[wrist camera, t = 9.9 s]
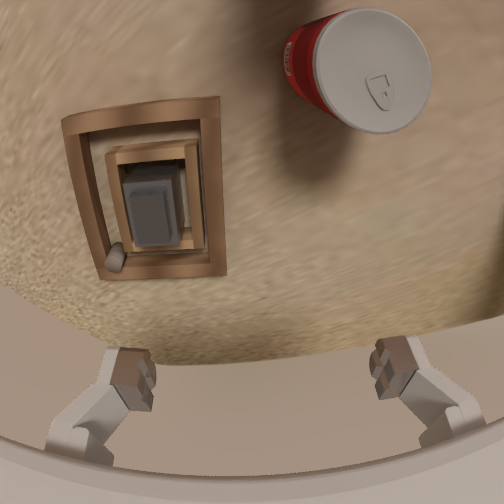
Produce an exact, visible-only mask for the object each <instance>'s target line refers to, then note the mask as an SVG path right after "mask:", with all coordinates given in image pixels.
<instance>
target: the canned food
mask: <svg viewBox="0 0 504 504" xmlns="http://www.w3.org/2000/svg"><path fill="white" fill-rule="evenodd" d="M283 69H284V72H285V75H286V78H287V80H288V82H289V84H290V85H291V87H292V88H293V89H294V90H295V92H296V93H297V94H298V95H300V96H301V97H302V98H303V99H305V100H307V101H308V102H310V103H312V104H313V105H315V106H317V107H319V108H320V109H322V110H323V111H325V112H327V113H328V114H330V115H332V116H333V117H335V118H336V119H338V120H340V121H341V122H343V123H345V124H347V125H348V126H350V127H352V128H354V129H357V130H359V131H363V132H365V133H371V134H389V133H393V132H397V131H399V130H401V129H403V128H405V127H407V126H408V125H409V124H411V123H412V122H413V121H414V120H415V119H416V118H417V117H418V116H419V114H420V113H421V112H422V110H423V108H424V106H425V105H426V102H427V99H428V97H429V94H430V88H431V67H430V62H429V57H428V55H427V52H426V49H425V47H424V45H423V43H422V42H421V40H420V38H419V37H418V35H417V34H416V33H415V32H414V31H413V29H412V28H411V27H410V26H409V25H408V24H406V23H405V22H404V21H403V20H402V19H400V18H398V17H397V16H395V15H393V14H391V13H389V12H386V11H383V10H380V9H373V8H357V9H350V10H347V11H342V12H339V13H336V14H333V15H330V16H327V17H324V18H321V19H318V20H315V21H313V22H310V23H307V24H305V25H303V26H301V27H300V28H298V29H297V30H295V31H294V32H293V34H292V35H291V36H290V37H289V39H288V41H287V42H286V44H285V48H284V51H283Z"/></svg>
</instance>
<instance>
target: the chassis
mask: <svg viewBox="0 0 504 504" xmlns="http://www.w3.org/2000/svg"><path fill="white" fill-rule="evenodd" d="M190 119H200V127H201V146H202V163H203V178H204V193H205V207H206V220H207V232H208V244H209V252H207V253H186V254H165V255H145V256H126V254H127V252H140V251H160V250H180V249H200V248H204V245H205V226H204V214H203V202H202V189H201V175H200V159H199V143H198V139H185V140H172V141H161V142H151V143H141V144H132V145H124V146H116V147H113V148H112V149H110V150H109V151H108V152H107V153H106V154H105V161H106V167H107V172H108V178H109V183H110V188H111V194H112V199H113V203H114V208H115V213H116V218H117V222H118V226H119V231H120V235H121V239H122V243H121V242H116V243H114V244H113V245H112V247H111V243H110V240H109V236H108V232H107V228H106V224H105V220H104V215H103V211H102V207H101V202H100V198H99V193H98V188H97V183H96V178H95V173H94V168H93V163H92V157H91V151H90V145H89V139H88V132H91V131H96V130H103V129H109V128H116V127H123V126H130V125H138V124H147V123H156V122H166V121H177V120H190ZM61 124H62V131H63V137H64V143H65V148H66V154H67V159H68V164H69V169H70V173H71V178H72V182H73V187H74V191H75V195H76V200H77V204H78V208H79V211H80V215H81V219H82V223H83V226H84V230H85V233H86V237H87V240H88V244H89V247H90V250H91V254H92V257H93V260H94V263H95V266H96V269H97V272H98V275H99V278H100V280H124V279H153V278H179V277H202V276H223V275H227V265H226V247H225V227H224V206H223V183H222V157H221V128H220V96H210V97H194V98H181V99H170V100H161V101H152V102H143V103H136V104H129V105H122V106H115V107H109V108H103V109H98V110H92V111H87V112H82V113H77V114H72V115H69V116H67V117H65V118H63V119H61ZM182 158H185V165H186V177H187V188H188V199H189V209H190V218H191V227H183V229H182V234H181V239H180V245H166V246H148V247H135V243H134V238H133V234H132V229H131V224H130V219H129V215H128V210H127V205H126V199H125V194H124V189H123V183H124V182H125V180H126V179H127V177H128V175H127V169H126V164H127V163H136V162H146V161H157V160H169V159H182Z"/></svg>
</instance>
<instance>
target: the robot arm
mask: <svg viewBox="0 0 504 504" xmlns="http://www.w3.org/2000/svg"><path fill="white" fill-rule="evenodd" d="M375 346H376V350H374V351H373V352H372V353H371V356H370V362H369V367H370V372H371V375H372V377H374V378H375V379H376V380H377V381H376V384H375V388H376V392H377V395H378V398H379V400H383V399H389V398H395V397H399V399H400V400H401V401H402V402H403V403H404V404H405V405H406V406H407V407H408V408H409V409H410V410H411V411H412V412H413V413H414V414H415V415H416V416H417V417H418V418H419V419H420V420H421V421H422V422H423V423H424V424H425V425H426V426H427V427H428V429H427V430H425V431H424V432H423V433H422V434H421V435H420V437H419V441H420V445H421V448H420V449H417V450H414V451H410V452H406V453H403V454H399V455H395V456H391V457H387V458H383V459H378V460H374V461H369V462H365V463H360V464H354V465H349V466H343V467H337V468H331V469H324V470H317V471H309V472H300V473H290V474H278V475H261V476H194V475H178V474H165V473H156V472H147V471H139V470H131V469H125V468H119V467H113V461H114V455H113V454H112V453H111V452H110V451H109V450H108V449H107V448H106V447H105V446H104V445H103V444H104V443H105V442H106V441H107V439H108V438H109V437H110V436H111V434H112V433H113V432H114V431H115V429H116V428H117V427H118V426H119V425H120V423H121V422H122V421H123V420H124V418H125V417H126V416H127V415H128V413H129V412H130V411H129V410H131V411H146V412H151V410H152V404H153V397H154V396H153V394H152V392H151V390H152V389H153V388H154V387H155V384H156V368H155V364H154V362H153V361H151V360H150V356H151V354H150V352H149V350H148V349H139V348H125V347H111V346H108V348H107V349H106V350H105V354H104V357H103V360H102V363H101V367H100V370H99V374H98V377H97V380H96V383H92V384H91V385H90V386H88V387H87V389H85V390H84V391H83V392H82V393H81V394H80V395H79V396H78V397H77V398H76V399H75V400H74V401H72V402H71V403H70V404H69V405H68V406H67V407H66V408H65V409H64V410H63V411H62V412H61V413H60V414H59V415H57V416H56V417H55V418H54V419H53V420H52V424H51V427H50V431H49V434H48V438H47V442H46V445H45V449H44V450H41V449H37V448H34V447H31V446H28V445H25V444H22V443H19V442H16V441H13V440H10V439H8V438H5V437H2V436H0V504H504V417H502V418H500V419H498V420H496V421H494V422H492V423H489V424H487V425H486V422H485V420H484V417H483V415H482V412H481V410H480V407H479V405H478V403H477V400H476V398H475V397H474V396H472V395H471V394H469V393H468V392H467V391H466V390H464V389H463V388H462V387H461V386H459V385H458V384H457V383H455V382H454V381H452V380H451V379H450V378H449V377H447V376H446V375H445V374H443V373H442V372H441V371H440V370H438V369H437V368H436V367H431V365H430V363H429V361H428V358H427V356H426V354H425V352H424V350H423V348H422V346H421V343H420V341H419V339H418V337H417V335H415V334H410V335H404V336H402V335H401V336H395V337H388V338H381V339H378V340H377V342H376V344H375Z"/></svg>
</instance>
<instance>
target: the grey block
mask: <svg viewBox="0 0 504 504" xmlns="http://www.w3.org/2000/svg"><path fill="white" fill-rule="evenodd" d="M123 189H124V194H125V199H126V205H127V210H128V215H129V219H130V224H131V229H132V234H133V238H134V243H135V247H148V246H166V245H180V239H181V234H182V229H183V224H184V218H185V216H184V207H183V198H182V189H181V179H180V169H179V160H172V161H161V162H150V163H140V164H136V166H135V167H134V169H133V170H132V171H131V173H130V174H129V176H128V177H127V179H126V180H125V182H124V183H123Z"/></svg>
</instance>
